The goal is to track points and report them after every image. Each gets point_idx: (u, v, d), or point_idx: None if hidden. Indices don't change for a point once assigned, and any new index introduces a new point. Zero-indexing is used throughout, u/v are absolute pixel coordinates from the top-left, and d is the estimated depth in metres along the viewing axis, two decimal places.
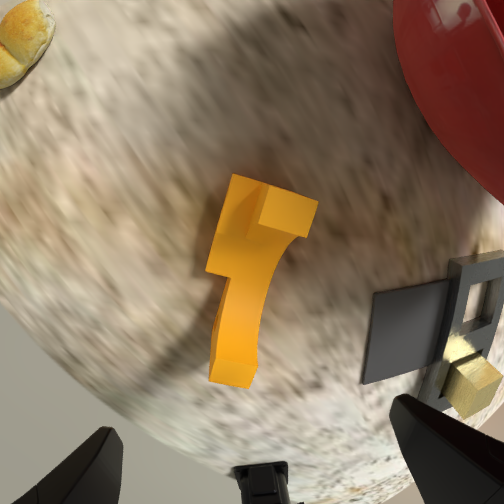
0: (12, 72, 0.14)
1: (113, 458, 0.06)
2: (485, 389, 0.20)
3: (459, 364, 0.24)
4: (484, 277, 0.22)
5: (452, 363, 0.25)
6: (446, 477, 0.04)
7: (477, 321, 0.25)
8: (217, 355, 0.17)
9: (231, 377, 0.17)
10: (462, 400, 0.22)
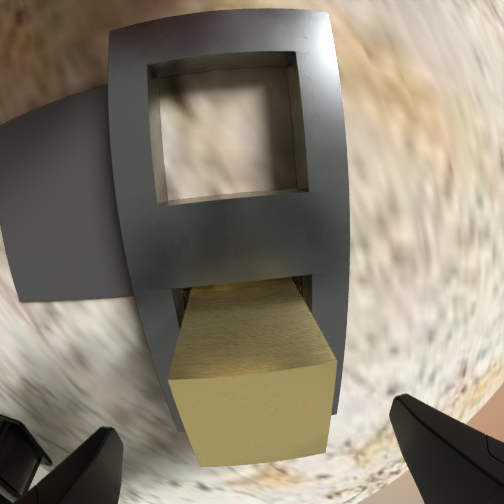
0: None
1: (113, 458, 0.06)
2: (226, 390, 0.07)
3: (204, 302, 0.12)
4: (203, 46, 0.09)
5: (190, 297, 0.12)
6: (446, 477, 0.04)
7: (270, 191, 0.12)
8: None
9: None
10: None
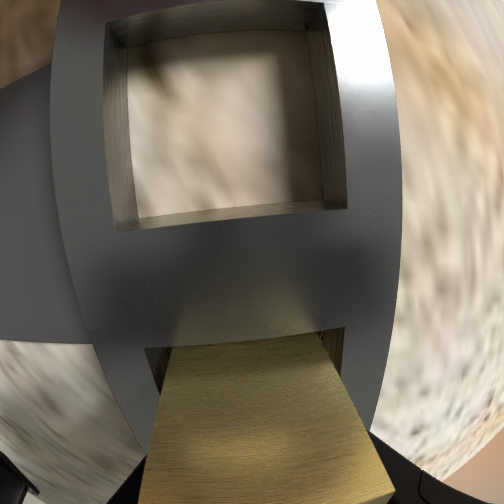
0: None
1: None
2: None
3: (191, 369, 0.08)
4: None
5: (172, 359, 0.08)
6: None
7: (286, 205, 0.08)
8: None
9: None
10: None
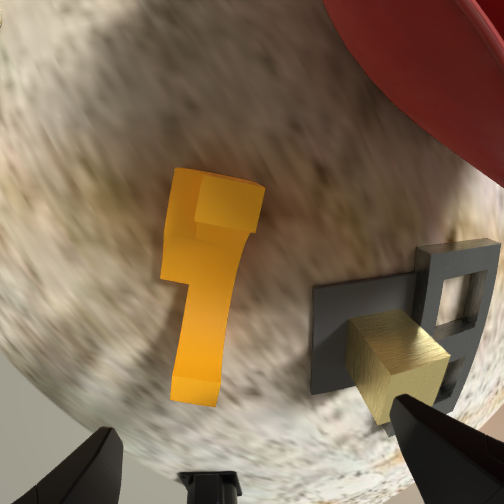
0: None
1: (113, 458, 0.06)
2: (411, 375, 0.14)
3: (370, 332, 0.18)
4: (463, 270, 0.19)
5: (358, 329, 0.19)
6: (446, 477, 0.04)
7: (458, 324, 0.22)
8: (174, 372, 0.14)
9: (193, 395, 0.15)
10: (373, 392, 0.16)
